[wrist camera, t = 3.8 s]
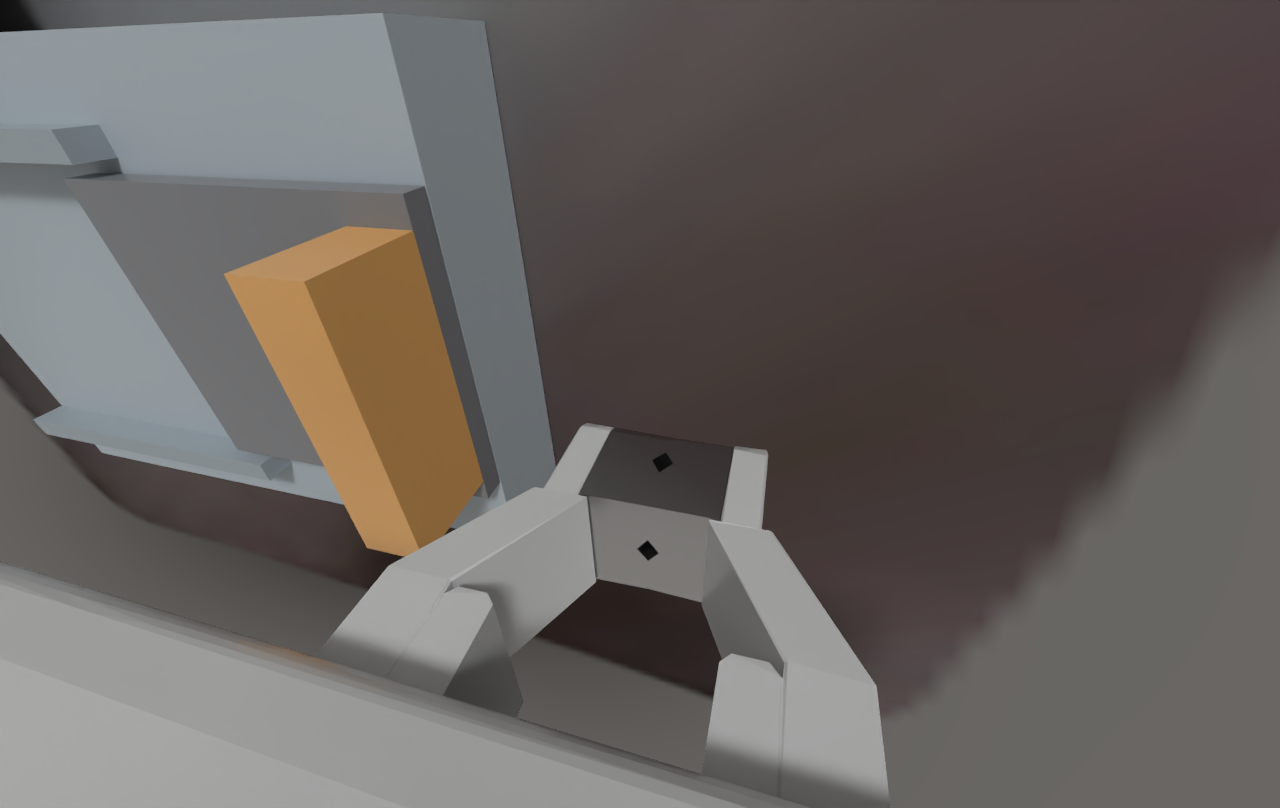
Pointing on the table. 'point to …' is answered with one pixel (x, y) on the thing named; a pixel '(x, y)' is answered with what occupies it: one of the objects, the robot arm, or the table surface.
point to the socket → (252, 149)
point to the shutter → (313, 332)
